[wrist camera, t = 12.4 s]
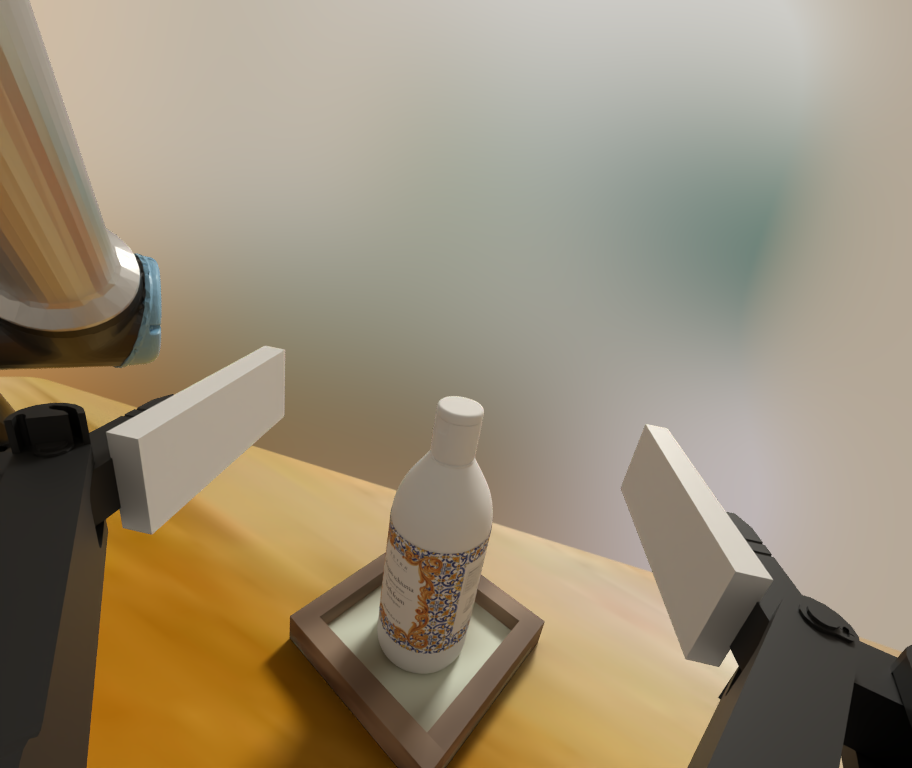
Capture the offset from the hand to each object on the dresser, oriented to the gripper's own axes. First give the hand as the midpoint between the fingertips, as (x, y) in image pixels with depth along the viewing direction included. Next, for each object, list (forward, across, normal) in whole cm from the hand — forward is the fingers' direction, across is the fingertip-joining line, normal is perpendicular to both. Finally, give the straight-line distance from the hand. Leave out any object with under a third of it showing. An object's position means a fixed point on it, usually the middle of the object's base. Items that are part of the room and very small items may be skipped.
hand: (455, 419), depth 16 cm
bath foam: (+10, 0, -24) cm, 26 cm away
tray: (+10, 0, -25) cm, 27 cm away
